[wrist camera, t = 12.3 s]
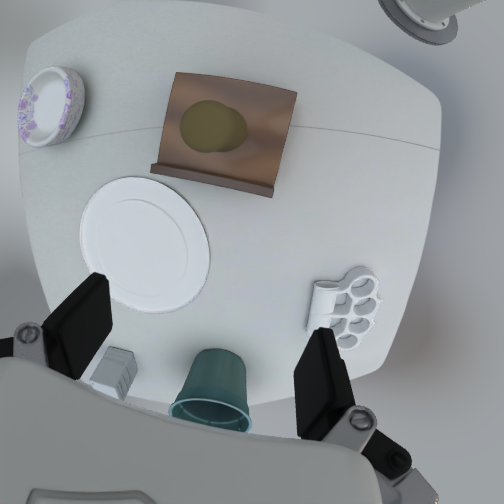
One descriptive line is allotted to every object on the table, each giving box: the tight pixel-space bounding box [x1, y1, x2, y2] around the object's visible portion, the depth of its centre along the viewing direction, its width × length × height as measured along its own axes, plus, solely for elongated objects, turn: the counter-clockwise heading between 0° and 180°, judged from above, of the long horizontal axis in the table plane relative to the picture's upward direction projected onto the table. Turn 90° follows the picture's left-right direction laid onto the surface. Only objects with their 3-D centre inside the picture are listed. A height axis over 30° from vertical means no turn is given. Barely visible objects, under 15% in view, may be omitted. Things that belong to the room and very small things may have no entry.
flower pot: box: [168, 349, 252, 433], centre depth 52 cm, size 16×16×16 cm
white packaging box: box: [90, 347, 138, 401], centre depth 56 cm, size 7×7×13 cm
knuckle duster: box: [306, 267, 384, 351], centre depth 49 cm, size 3×18×15 cm
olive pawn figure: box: [180, 100, 247, 153], centre depth 27 cm, size 6×6×11 cm
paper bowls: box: [18, 66, 85, 148], centre depth 33 cm, size 15×15×8 cm
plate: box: [80, 177, 210, 314], centre depth 48 cm, size 28×28×1 cm
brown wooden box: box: [150, 72, 297, 198], centre depth 35 cm, size 14×16×10 cm
